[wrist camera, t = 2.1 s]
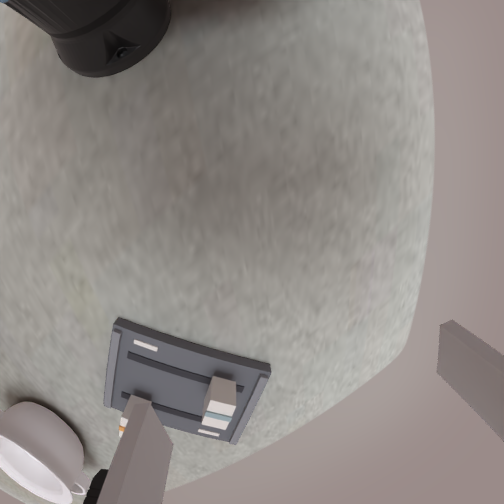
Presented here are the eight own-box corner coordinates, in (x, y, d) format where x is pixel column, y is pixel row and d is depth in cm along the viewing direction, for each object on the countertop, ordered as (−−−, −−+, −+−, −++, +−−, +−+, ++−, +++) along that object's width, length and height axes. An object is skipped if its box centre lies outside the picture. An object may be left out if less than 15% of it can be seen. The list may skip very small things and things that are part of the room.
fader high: (204, 393, 35) (200, 425, 29) (213, 370, 34) (209, 401, 29) (226, 399, 36) (226, 431, 30) (236, 376, 35) (236, 407, 29)
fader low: (129, 408, 35) (118, 437, 29) (133, 388, 35) (120, 418, 29) (149, 415, 36) (140, 445, 30) (154, 396, 35) (143, 426, 29)
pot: (117, 448, 40) (99, 500, 28) (84, 475, 42) (67, 516, 30) (16, 367, 36) (-22, 406, 24) (0, 409, 38) (-28, 443, 26)
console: (107, 396, 37) (101, 407, 35) (118, 317, 35) (111, 326, 32) (236, 434, 40) (236, 447, 37) (269, 364, 37) (272, 376, 35)
